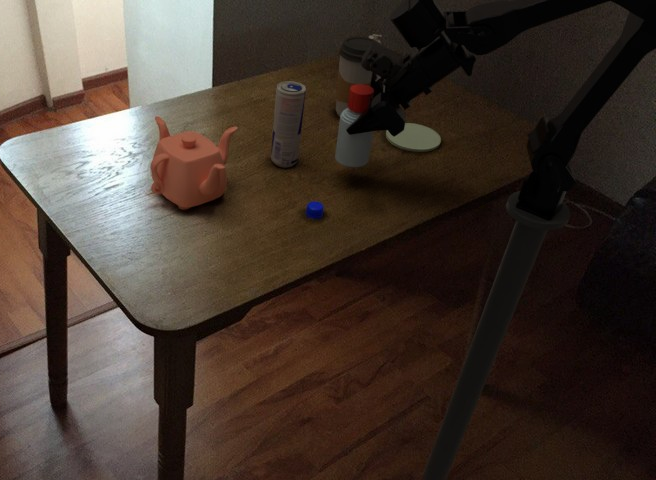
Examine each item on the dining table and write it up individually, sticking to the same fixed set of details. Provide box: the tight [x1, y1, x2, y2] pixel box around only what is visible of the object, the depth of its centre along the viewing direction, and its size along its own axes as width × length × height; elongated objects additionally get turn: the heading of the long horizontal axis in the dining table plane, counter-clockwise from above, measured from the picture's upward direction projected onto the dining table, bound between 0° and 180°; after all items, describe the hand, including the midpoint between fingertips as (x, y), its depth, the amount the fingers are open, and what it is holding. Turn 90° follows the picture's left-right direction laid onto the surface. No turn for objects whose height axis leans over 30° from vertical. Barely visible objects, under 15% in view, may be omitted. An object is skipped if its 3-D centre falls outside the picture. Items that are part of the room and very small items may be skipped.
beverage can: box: [270, 80, 307, 169], centre depth 127 cm, size 5×5×15 cm
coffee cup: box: [335, 35, 379, 117], centre depth 143 cm, size 8×8×15 cm
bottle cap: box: [305, 201, 325, 220], centre depth 119 cm, size 3×3×2 cm
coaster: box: [385, 122, 442, 153], centre depth 142 cm, size 11×11×1 cm
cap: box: [348, 84, 374, 113], centre depth 118 cm, size 4×4×3 cm
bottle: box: [334, 108, 375, 168], centre depth 121 cm, size 6×6×12 cm
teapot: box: [150, 115, 238, 211], centre depth 118 cm, size 14×14×11 cm
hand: (348, 123), depth 121 cm, fingers closed on bottle, 6 cm apart
